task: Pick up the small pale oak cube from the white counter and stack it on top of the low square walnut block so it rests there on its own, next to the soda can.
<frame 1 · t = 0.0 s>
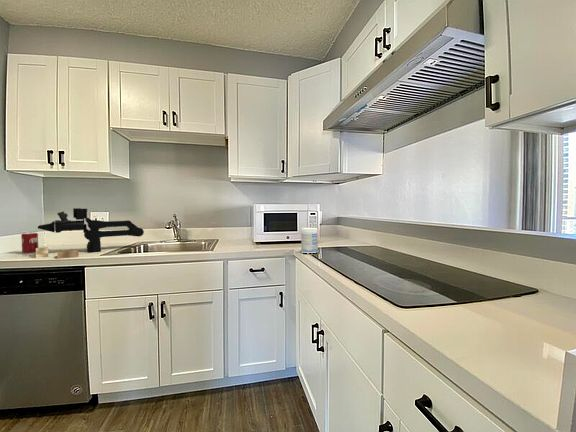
hand: (38, 226, 154), 17 cm above the worktop, tool horizontal, fingers open, 9 cm apart
walnut block: (68, 257, 154), on the worktop
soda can: (30, 253, 166), on the worktop
supplement tub: (309, 253, 162), on the worktop
oak cube: (42, 256, 154), on the worktop
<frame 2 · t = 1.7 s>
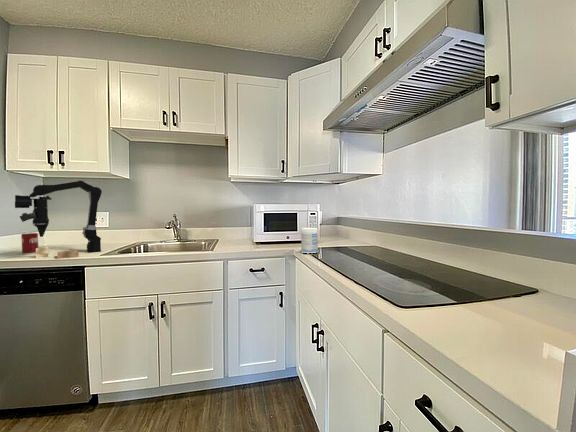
hand: (41, 236, 154), 11 cm above the worktop, tool pointing down, fingers open, 9 cm apart
nothing on the worktop moved.
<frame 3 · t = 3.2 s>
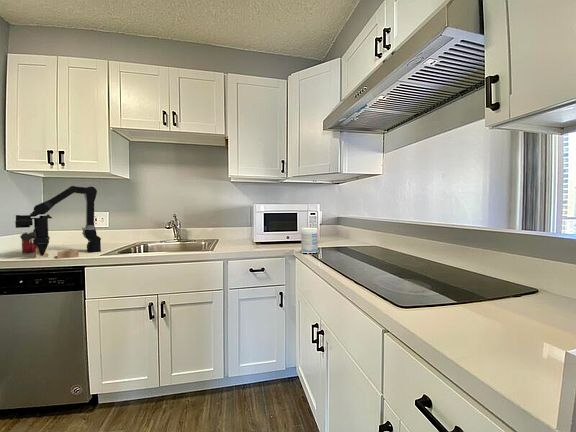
hand: (42, 254, 154), 1 cm above the worktop, tool pointing down, fingers closed on oak cube, 5 cm apart
oak cube: (42, 256, 154), on the worktop, touching gripper
everything else where it was.
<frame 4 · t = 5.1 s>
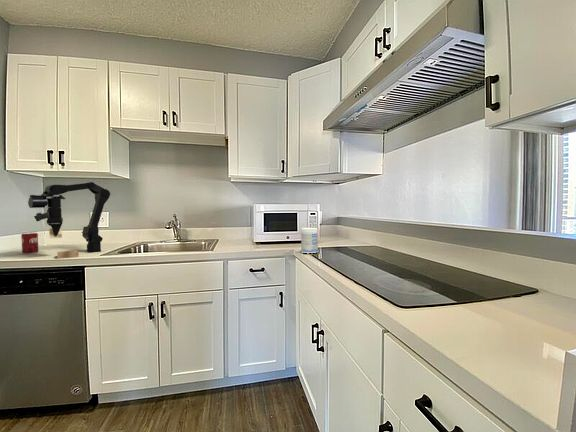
hand: (56, 235, 154), 12 cm above the worktop, tool pointing down, fingers closed on oak cube, 5 cm apart
oak cube: (55, 237, 154), point 11 cm above the worktop, touching gripper
everything else where it was.
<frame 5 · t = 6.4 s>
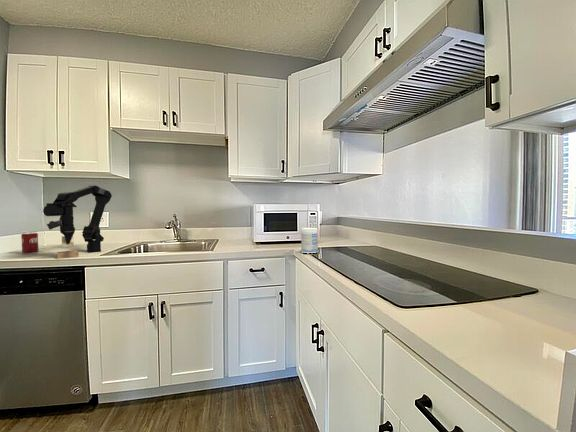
hand: (67, 243, 154), 7 cm above the worktop, tool pointing down, fingers closed on oak cube, 5 cm apart
oak cube: (67, 245, 154), point 6 cm above the worktop, touching gripper
everything else where it was.
when the fingers open (4 cm above the worktop, at t = 7.3 s): oak cube stays where it is, resting on walnut block.
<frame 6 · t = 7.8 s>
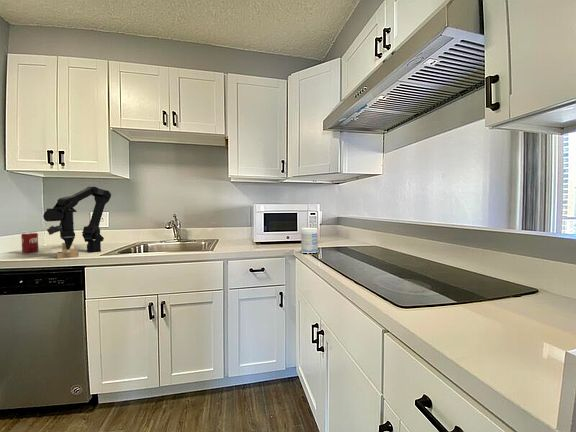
hand: (67, 248, 154), 4 cm above the worktop, tool pointing down, fingers open, 9 cm apart
walnut block: (68, 257, 154), on the worktop, touching oak cube
oak cube: (68, 252, 154), point 3 cm above the worktop, touching walnut block
everything else where it was.
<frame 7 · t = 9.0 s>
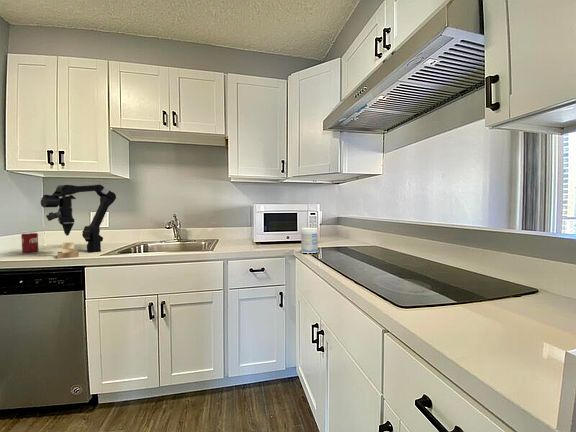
hand: (66, 234, 157), 12 cm above the worktop, tool pointing down, fingers open, 9 cm apart
walnut block: (68, 257, 154), on the worktop
oak cube: (68, 252, 155), point 3 cm above the worktop
everything else where it was.
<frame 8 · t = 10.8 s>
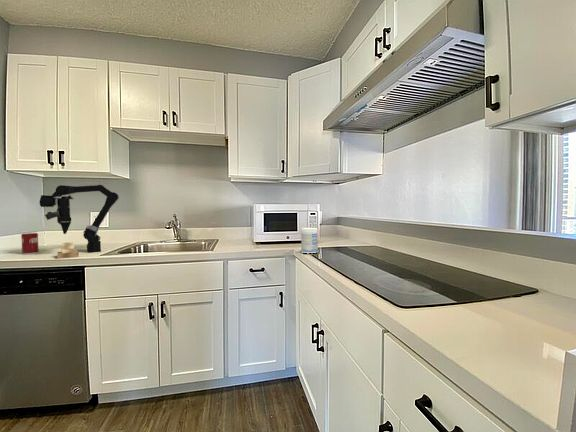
hand: (64, 233, 164), 12 cm above the worktop, tool pointing down, fingers open, 9 cm apart
walnut block: (68, 257, 154), on the worktop, touching oak cube
oak cube: (67, 252, 154), point 3 cm above the worktop, touching walnut block
everything else where it was.
at the end: oak cube inside the target area on the walnut block (0.2 cm from its centre), point 3.0 cm above the walnut block's base; oak cube tilted 0°; the gripper is holding nothing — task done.
